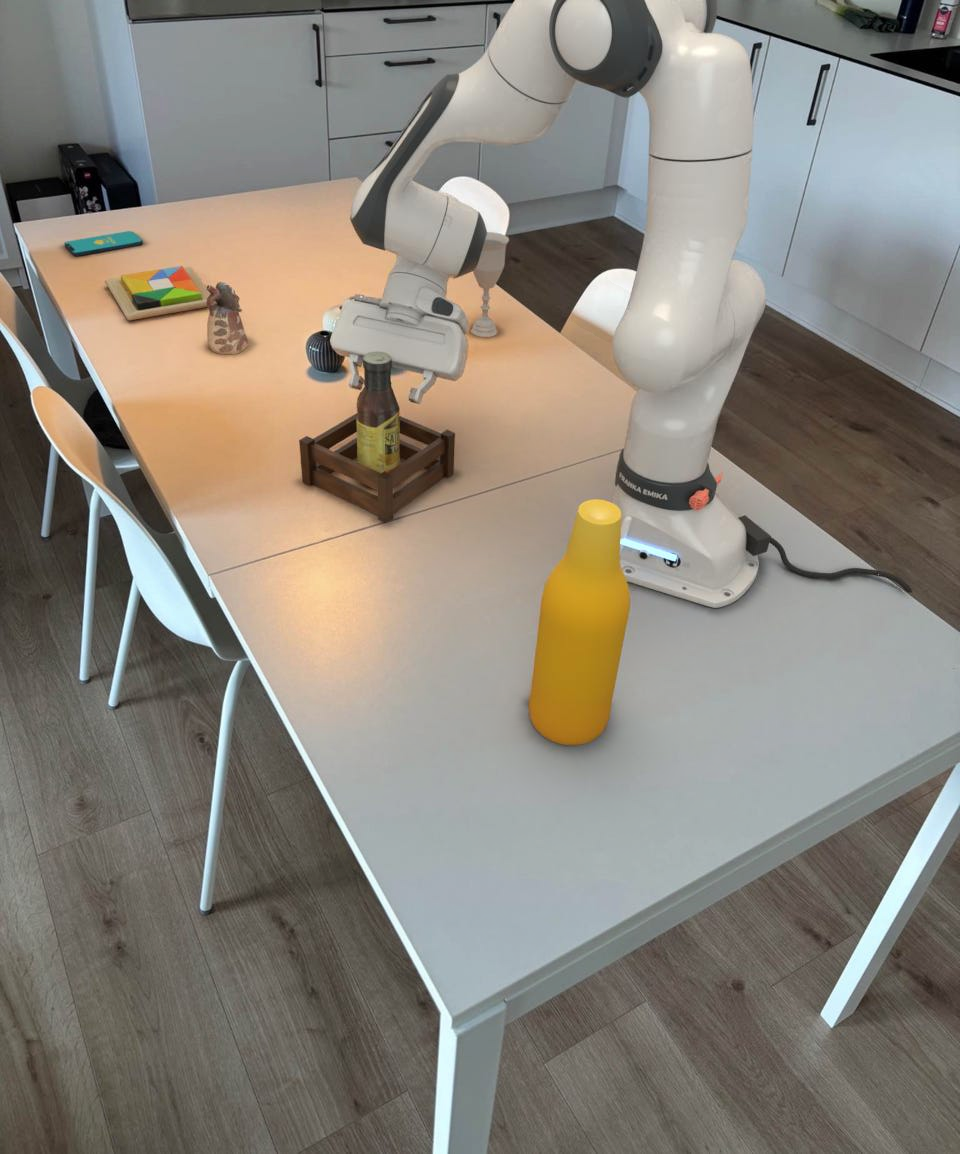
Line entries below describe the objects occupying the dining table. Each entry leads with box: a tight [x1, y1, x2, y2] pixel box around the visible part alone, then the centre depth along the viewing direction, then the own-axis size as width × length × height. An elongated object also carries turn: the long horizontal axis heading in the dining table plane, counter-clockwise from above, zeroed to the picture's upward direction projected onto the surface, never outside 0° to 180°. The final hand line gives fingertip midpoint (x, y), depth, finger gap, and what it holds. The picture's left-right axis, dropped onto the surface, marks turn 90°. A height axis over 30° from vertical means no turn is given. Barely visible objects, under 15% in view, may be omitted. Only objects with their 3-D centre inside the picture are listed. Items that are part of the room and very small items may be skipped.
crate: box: [298, 412, 456, 524], centre depth 145 cm, size 16×16×7 cm
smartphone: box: [64, 230, 144, 257], centre depth 212 cm, size 7×1×15 cm
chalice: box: [470, 231, 510, 338], centre depth 183 cm, size 7×7×18 cm
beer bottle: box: [528, 498, 631, 746], centre depth 102 cm, size 9×9×29 cm
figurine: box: [205, 281, 250, 355], centre depth 175 cm, size 7×7×12 cm
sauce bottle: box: [356, 352, 401, 488], centre depth 141 cm, size 7×6×20 cm
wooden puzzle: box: [104, 265, 217, 321], centre depth 192 cm, size 18×19×4 cm
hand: (384, 395), depth 141 cm, fingers open, 8 cm apart
